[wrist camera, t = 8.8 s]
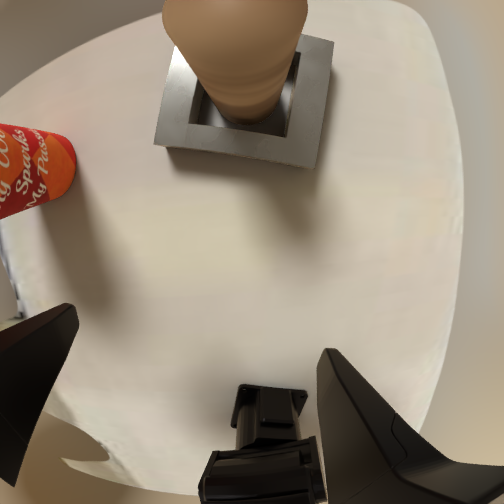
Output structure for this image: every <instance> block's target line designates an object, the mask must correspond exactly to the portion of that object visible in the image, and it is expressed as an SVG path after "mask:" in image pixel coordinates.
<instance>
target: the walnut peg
mask: <svg viewBox="0 0 504 504" xmlns="http://www.w3.org/2000/svg"><path fill="white" fill-rule="evenodd" d="M307 13H308V4H307V0H166V1H165V3H164V7H163V12H162V20H163V25H164V28H165V30H166V32H167V34H168V36H169V37H170V38H171V40H172V41H173V43H174V44H175V46H176V47H177V49H178V50H179V51H180V53H181V54H182V56H183V57H184V59H185V60H186V62H187V63H188V65H189V66H190V68H191V69H192V71H193V72H194V74H195V75H196V77H197V78H198V80H199V81H200V83H201V84H202V86H203V87H204V89H205V90H206V92H207V93H208V95H209V96H210V98H211V99H212V101H213V103H214V104H215V106H216V107H217V109H218V110H219V112H220V113H221V114H222V116H223V117H225V118H226V119H227V120H229V121H230V122H233V123H235V124H239V125H254V124H258V123H260V122H262V121H264V120H266V119H267V118H269V117H270V116H271V115H272V113H273V112H274V111H275V109H276V107H277V105H278V102H279V98H280V95H281V92H282V89H283V86H284V83H285V80H286V77H287V74H288V71H289V68H290V65H291V62H292V59H293V56H294V53H295V50H296V47H297V44H298V41H299V38H300V35H301V32H302V29H303V26H304V23H305V21H306V17H307Z"/></svg>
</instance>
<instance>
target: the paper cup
mask: <svg viewBox="0 0 504 504" xmlns="http://www.w3.org/2000/svg"><path fill="white" fill-rule="evenodd" d="M75 171H76V155H75V151H74V148H73V146H72V144H71V143H70V141H69V140H68V139H67V138H65V137H64V136H61V135H58V134H55V133H50V132H46V131H41V130H36V129H30V128H25V127H19V126H13V125H6V124H0V219H3V218H5V217H8V216H10V215H13V214H16V213H18V212H21V211H23V210H26V209H29V208H32V207H34V206H37V205H40V204H43V203H45V202H48V201H51V200H53V199H56V198H58V197H60V196H62V195H63V194H64V193H65V192H66V191H67V190H68V189H69V187H70V185H71V183H72V181H73V179H74V175H75Z"/></svg>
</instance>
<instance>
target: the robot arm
mask: <svg viewBox="0 0 504 504" xmlns="http://www.w3.org/2000/svg"><path fill="white" fill-rule="evenodd" d="M78 329H79V319H78V315H77V311H76V307H75V306H74V305H73V304H69V303H63V304H61V305H58V306H56V307H54V308H52V309H49V310H47V311H45V312H42V313H40V314H38V315H36V316H33V317H31V318H29V319H27V320H24V321H22V322H20V323H18V324H16V325H13V326H11V327H9V328H7V329H5V330H2V331H0V478H2V479H3V480H4V481H5V482H7V483H8V484H10V485H11V486H13V487H15V484H16V481H17V478H18V474H19V471H20V467H21V465H22V462H23V459H24V456H25V453H26V450H27V447H28V444H29V441H30V439H31V436H32V434H33V431H34V429H35V426H36V423H37V421H38V418H39V416H40V414H41V411H42V409H43V407H44V405H45V402H46V400H47V398H48V396H49V394H50V391H51V389H52V387H53V385H54V383H55V381H56V379H57V377H58V375H59V373H60V371H61V369H62V367H63V365H64V362H65V360H66V358H67V356H68V353H69V351H70V348H71V346H72V343H73V341H74V338H75V336H76V333H77V331H78ZM243 389H245V390H243ZM301 395H302V396H301ZM307 397H308V394H307V391H305V390H295V389H283V388H273V387H263V386H255V385H247V384H241V385H240V386H239V387H238V392H237V397H236V401H235V406H234V410H233V415H232V420H231V427H232V428H236V429H237V435H236V450H230V451H212V454H211V456H210V458H209V461H208V463H207V466H206V468H205V470H204V473H203V475H202V477H201V480H200V482H199V484H198V490H199V491H198V495H199V497H200V501H201V504H319V503H322V502H327V493H328V504H504V466H491V465H478V464H467V463H460V462H456V461H453V460H451V459H449V458H447V457H446V456H444V455H443V454H441V453H440V452H439V451H438V450H437V449H436V448H434V447H433V446H432V445H431V444H430V443H429V442H427V441H426V440H425V439H424V438H422V437H421V436H420V435H419V434H418V433H417V432H416V431H415V430H414V429H412V428H411V427H410V426H409V425H408V424H407V423H406V422H405V421H404V420H403V419H402V417H401V416H400V415H399V414H398V413H395V410H394V409H393V408H392V407H391V406H390V405H389V404H388V403H387V402H386V401H385V400H384V399H383V398H382V396H381V395H380V394H379V393H378V392H377V391H376V390H375V389H374V388H373V387H372V386H371V385H370V384H369V383H368V382H367V381H366V379H365V378H364V377H363V376H362V375H361V374H360V373H359V372H358V371H357V370H356V369H355V368H354V367H353V366H352V365H351V364H350V363H349V361H348V360H347V359H346V358H345V357H344V356H343V355H342V354H341V353H340V352H339V351H338V350H337V349H335V348H325V349H324V350H323V352H322V355H321V357H320V360H319V362H318V365H317V408H318V416H319V424H320V432H321V439H322V448H323V456H324V465H325V474H326V483H327V493H326V485H325V478H324V473H323V468H322V463H321V458H320V454H319V449H318V445H317V441H316V437H315V436H312V437H309V438H307V439H303V440H301V434H300V427H299V420H298V418H299V415H300V413H301V411H302V409H303V406H304V404H305V402H306V399H307Z"/></svg>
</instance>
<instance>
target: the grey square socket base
mask: <svg viewBox="0 0 504 504" xmlns="http://www.w3.org/2000/svg"><path fill="white" fill-rule="evenodd" d="M333 48H334V42H332V41H329V40H325V39H321V38H317V37H313V36H309V35H304V34H301V35H300V38H299V41H298V44H297V47H296V50H295V53H294V56H293V59H292V62H291V64H292V65H296V68H295V74H294V80H293V86H292V92H291V97H290V103H289V109H288V114H287V120H286V126H285V131H284V137H279V136H273V135H268V134H262V133H256V132H250V131H244V130H237V129H230V128H223V127H215V126H206V125H197V122H198V117H199V112H200V107H201V102H202V97H203V92H204V87H203V86H202V84H201V83H200V81H199V80H198V78H197V77H196V75H195V74H194V72H193V71H192V69H191V68H190V66H189V65H188V63H187V62H186V60H185V59H184V57H183V56H182V54H181V53H180V51H179V50H178V49H177V47H176V46H175V49H174V53H173V56H172V60H171V64H170V68H169V72H168V76H167V80H166V84H165V89H164V93H163V97H162V102H161V107H160V112H159V117H158V122H157V127H156V133H155V139H154V145H159V146H163V147H170V148H180V149H189V150H197V151H206V152H213V153H220V154H227V155H234V156H241V157H247V158H253V159H259V160H264V161H270V162H275V163H280V164H286V165H291V166H296V167H300V168H305V169H315V164H316V158H317V153H318V147H319V141H320V135H321V130H322V124H323V117H324V111H325V105H326V98H327V92H328V85H329V78H330V71H331V63H332V56H333Z"/></svg>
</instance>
